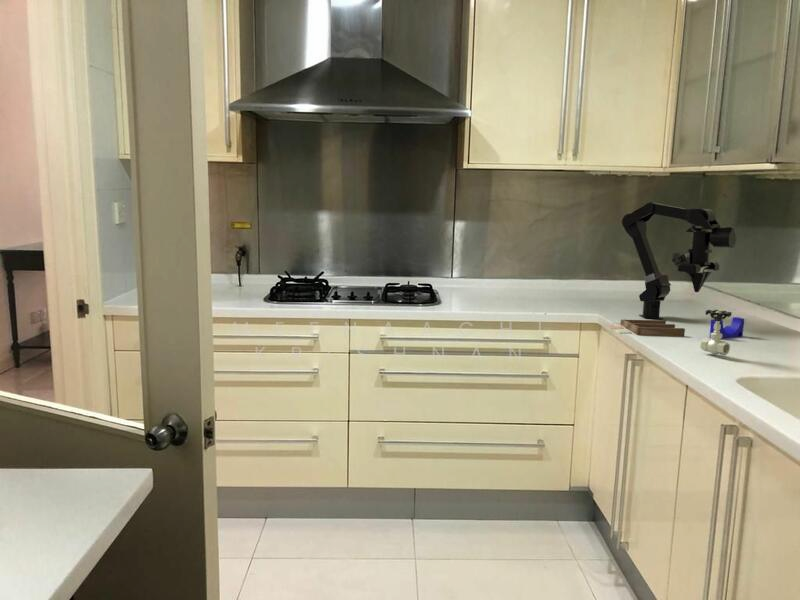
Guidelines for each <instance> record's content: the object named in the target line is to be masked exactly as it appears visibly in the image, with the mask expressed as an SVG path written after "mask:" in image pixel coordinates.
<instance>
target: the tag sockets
mask: <svg viewBox="0 0 800 600" xmlns="http://www.w3.org/2000/svg"><path fill="white" fill-rule="evenodd" d="M608 327H609V328H610V329H615V332H617V333H619V334H627V335H628V334H630V335H632V334H634V335H637V336H655V337H658V336H660V337H685V333H686V328H684V327H676V324H674V323H667V320H663V319H620V325H619V326H618V325H609V326H608Z"/></svg>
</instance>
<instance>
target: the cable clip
mask: <svg viewBox="0 0 800 600" xmlns="http://www.w3.org/2000/svg"><path fill="white" fill-rule="evenodd" d="M714 324H716V321H714V319H713V318H711V319H710V326H709V327H710V328H709V339H711V338H712V337H710V335H711V333H713V331H714V330H715V329H714ZM719 324H721V328H720V330H719V331H720V333H721V334H722V338H721V340H725V339H733V338H742V337H743V336H744V325H745V318H742V317H737V316H736V317H735V316H733V317H732V321H731V323H730V325H725V326H724V321H723V320H722V321H720V323H719Z"/></svg>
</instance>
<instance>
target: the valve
mask: <svg viewBox="0 0 800 600" xmlns="http://www.w3.org/2000/svg"><path fill="white" fill-rule="evenodd" d="M705 315H707V316H708V315H710V317H711V319H714V321H716V324H714V329H715V330H714V331H713V333H711V335H710V334H709V337H708V338H707V337H704V338H703V339H702V341H701V342H700V349H701V350H703V351H704V352H708V353H710V354H713V355H718V354H719V355H721V356H727V355H728V354H729V353H730V351H731V345H730V343H729V342H727V341H725V340H724V341H723V340H722V339H721V338H722V334H721V333H720V331H719V330H720V328H721V324H719V323H720V321H723V320H726V318H729V317H732V311H727V310H718V309H714V310H712V309H707V310H705ZM710 337H712V338H710Z"/></svg>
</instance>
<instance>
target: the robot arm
mask: <svg viewBox="0 0 800 600" xmlns="http://www.w3.org/2000/svg"><path fill="white" fill-rule="evenodd" d="M655 215H658V216H664V217H668V218H673V219H680V220H682V221H685V222H686V223H689V224H691V226H689V228H687V229H686V233H692V234H691V235H692V236H691V237H692V238H691V248H688V250H687V253H684V254H681V253H680V252H675V253H672V257H671V262H672V263H674V267H677V272H682V273H683V272H684V273H686V274H687V275H688V276H689V277H690V278H691V283H692V287H693V290H694V293H699V292H700V290H701V289H702V287H703V286H704V284H705V282H706V281H707V279H708V278H709V276H710V275H711V274H712V272H711V271H708V270H712V271H714V272H715V271H719V270H720V263H719V262H718V261H709V259H710V254H711V253H713V249H711V246H712V247H713V248H723V249H724V248H725V249H733V248H734V247H735V245H736V244H737V243H736V242H737V236H736V232H735V227H734V226H731V227H730V226H728V227H724V226H723V227H722V226H721V225H720V223H719V222H718V220H717V219H716V214H715V212H714V211H713V210H712V209H711V208H710V209H709V208H684V207H680V206H674V205H673V206H672V205H668V204H661V203H659V202H652V201H651V202H650V201H649V202H647V203H646V204H644V205H643V206H641V207H639V208H637V209H636V210H633V211H632V212H630V213H627V214H625V215H624V216H623V218H622V220H621V225H622V228H623V229H624V231H625V232H626V234H627V235H628V236H629V237H630V238H631V239H632V241H633V244H634V246H635V249H636V252H637V255H638V258H639V260H640V263H641V266H642V270H643V272H644V275H645V281H644V287H645V290H644V291H643V292H641V293H640V294H639V295H638V296H639V301H640V302H643V304H642V314H638V317H641V318H643V319H644V320H663V319H664V318H663V317H662V316H660V312H661V311H660V310H661V302H662V301H663V302H664V301H665V298H666V297H667V296H668V295H669V294H670V292H671V286H672V284H671V283H670V280H669V277H668V275H667V274H662V273H661V272H660V270H659V268H658V264H657V262H656V259H655V257H654V253H653V252H652V249H651V246H650V243H649V241H648V237H647V227H648V226H647V222H649V221H650V220H651V219H652V218H654V216H655ZM710 230H711V231H710Z"/></svg>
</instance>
